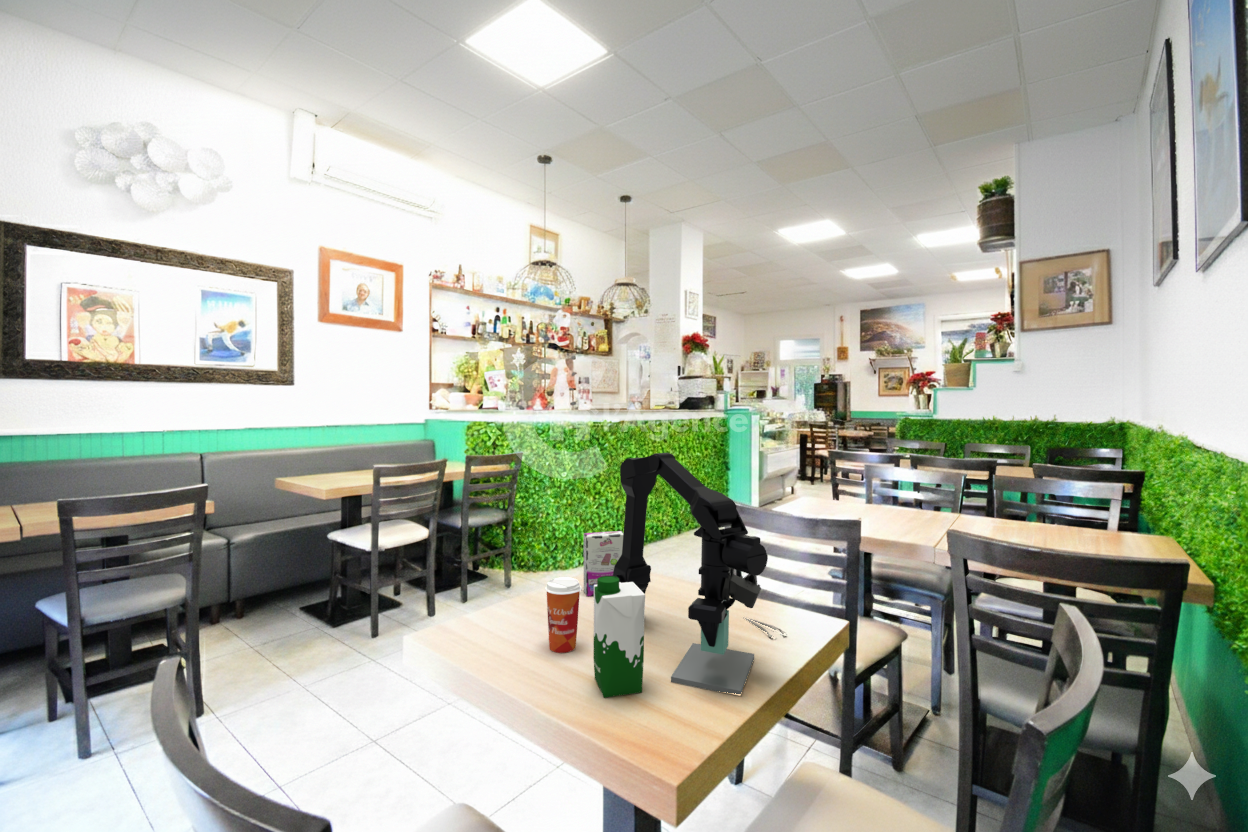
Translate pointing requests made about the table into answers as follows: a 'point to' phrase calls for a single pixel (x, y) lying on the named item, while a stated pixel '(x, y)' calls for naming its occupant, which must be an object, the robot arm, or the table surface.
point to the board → (714, 670)
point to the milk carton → (618, 636)
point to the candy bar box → (600, 556)
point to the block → (718, 638)
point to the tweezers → (765, 625)
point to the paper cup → (562, 613)
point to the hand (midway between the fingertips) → (714, 641)
